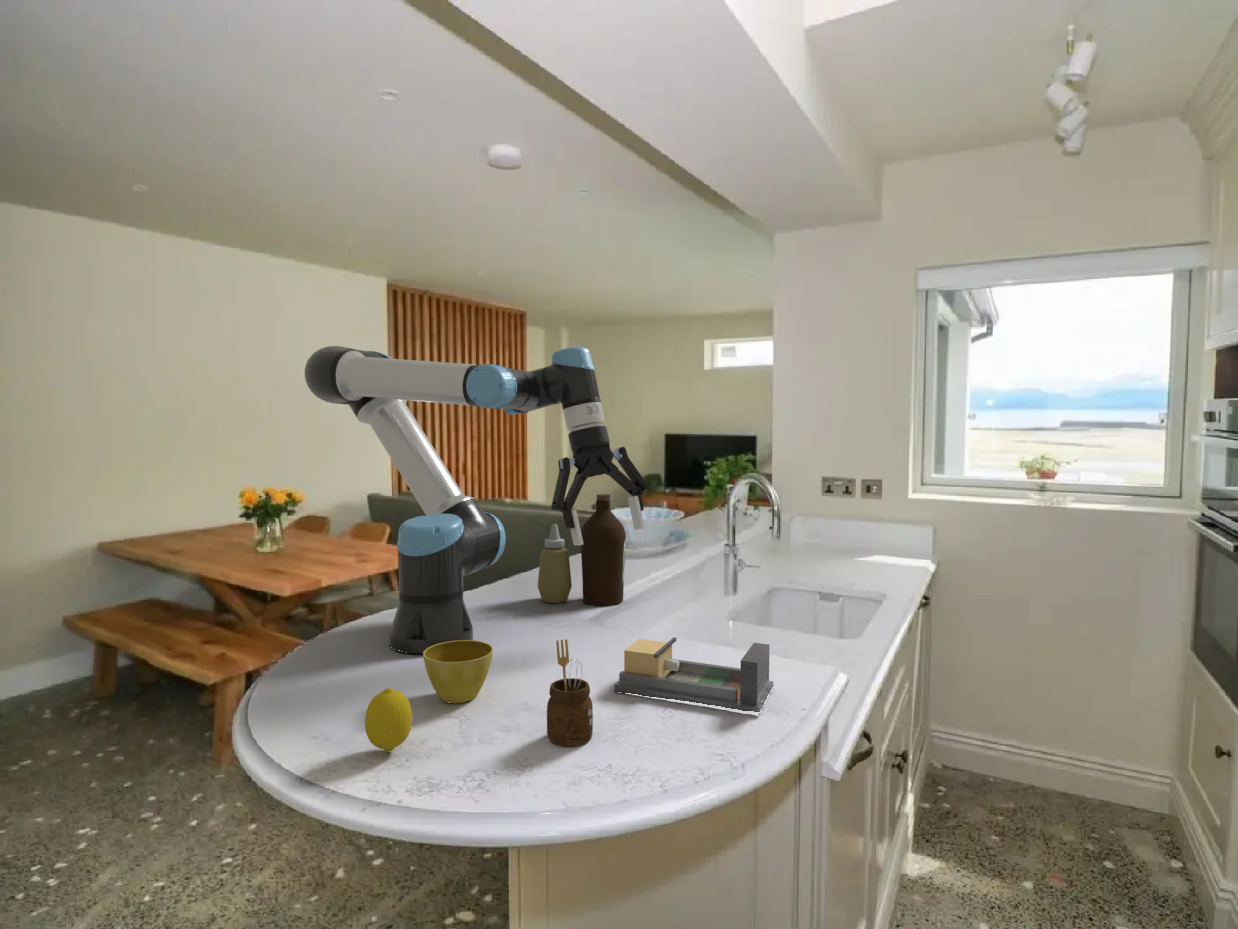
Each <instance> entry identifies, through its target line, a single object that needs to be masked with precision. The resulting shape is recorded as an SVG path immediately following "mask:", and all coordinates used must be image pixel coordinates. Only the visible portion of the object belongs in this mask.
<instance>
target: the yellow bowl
mask: <svg viewBox="0 0 1238 929" xmlns="http://www.w3.org/2000/svg"><path fill="white" fill-rule="evenodd" d="M493 652H494V647H493V646H492V645H491V644H490V643H488V642H485V641H480V640H474V639H473V640H457V641H449V642H443V643H439V644H435V645H433V646H431V647H429V648H427V649H426V650H425V651H424V652H423V654H422V656H423V663H424V667H425V670H426V673H427V676H428V680H429V681H430V683H431V685H432V687H433V690H434V691H435V693H436V694H437V697H439V699H440V700H441V699H442V700H443V701H445V702H450V703H462V704H464V703H463V702H467V701H470V700H472V699H473V700H475V699H476V698H477V696H478V694H479V693H480V691H481V689H482V688H483V685H484V684H485V682H486V679H487V677H488V674H489V670H490V667H491V664H492V659H493ZM442 700H441V701H442ZM473 700H472V701H473ZM443 701H442V702H443ZM445 702H444V703H445ZM470 702H471V701H470ZM467 703H468V702H467Z"/></svg>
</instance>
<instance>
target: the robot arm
mask: <svg viewBox="0 0 1238 929" xmlns="http://www.w3.org/2000/svg"><path fill="white" fill-rule="evenodd" d="M304 367H305V368H304V380H305V383H306V385H307V387H308V389H309V391H310V392H311V393H312V394H313V395H314V396H315V397H316V398H318V399H320V400H321V401H323V402H326V403H330V404H335V405H348V406H349V408H350V409H351V411H352V412H353V414H354V416H355V418H357V421H359V423H361V424H367V425H369V426H370V427H371V429H372V431H373V432H374V433H375V435H376V436H377V438H378V440H379V442H380V443H381V445H382V447H384V449H385V451H386V453H387V454H388V456H389V457H390V459H391V461H392V462H393V464H394V466H395V468H396V469H397V470H398V472H399V474H400V475H401V477H402V479H403V480H404V482H405V483H406V485H407V487H408V488H409V490H410V491H411V493H412V495H413V496H414V498H415V499H416V501H417V503H418V504H419V506H420V508H421V509H422V510H423V513H424V514H425V515H420V516H414V517H412V518H409V519H407V520H405V521H404V522H403V523H402V524H400V526H399V528H398V536H397V537H398V538H397V543H396V549H397V556H398V558H397V560H398V562H397V563H398V564H397V565H398V568H397V569H398V572H397V573H398V605H397V608H396V612H395V615H394V618H393V621H392V624H391V627H390V630H389V634H388V635H389V637H388V638H389V644H390V645H389V647H390V646H391V647H392V648H394V649H395V650H400V651H403V652H407V653H406V654H408V653H416V654H415V655H423V652H424V651H425V650H426V649H427V648H429V647H431V646H433V645H435V644H439V643H443V642H449V641H457V640H474V628H473V624H472V621H471V618H470V615H469V613H468V609H467V607H466V604H465V601H464V577H465V576H468V575H472V574H474V573H476V572H480V571H484V570H486V569H487V568H488V567H490V566H492V565H494V564H495V563H496V562H497V561H498V560H499V559H500V558H501V557H502V555H503V553H504V550H505V546H506V541H507V540H506V531H505V528H504V525H503V523H502V522H501V521H500V519H499V518H498V517H497V516H495V515H494V514H493V513H489V512H488V511H487V512H486V511H483V509H482V507H481V506H480V504H479V502H478V501H477V500H476V499H475V497H474V496H473V497H472V496H469V495H464V493H463V492H462V490H461V488H460V487H459V486H458V485H459V484H457V482H456V481H455V479H454V477H453V475H452V474H451V472H450V471H449V470H448V468H447V467H446V464H444V462H443V460H442V458H441V457H440V455H439V454H438V452H437V451H436V449H435V448H434V446H433V445H432V443H431V441H430V440H429V438H428V436H427V435H426V434H425V432H424V430H423V429H422V427H421V425H420V424H419V423H418V421H417V420H416V418H415V416H414V415H413V412H412V411H411V410H410V408H409V407H408V405H407V402H408V401H414V402H424V403H436V404H446V405H447V404H449V405H461V406H470V407H479V408H485V409H493V410H494V409H497V410H498V409H500V410H501V409H502V410H503V411H504V412H505V413H506V414H507V415H510V416H514V415H519V414H528V413H530V412H532V411H536V410H540V409H542V408H547V407H550V406H553V405H559V404H561V407H562V412H563V416H564V421H565V426H566V430H567V431H570V432H569V434H568V436H567V437H568V439H569V444H570V449H571V452H572V457H568V456H567V457H562V458H560V459H559V460H558V462H557V464H558V470H559V471H558V475H557V480H556V484H555V489H554V492H553V498H552V500H551V501H552V503H551V506H550V507H551V510H552V511H559V512H561V513H562V516H563V521H564V525H565V529H567V530H570V534H571V539H572V544H573V546H581V545H583V544H584V543H583V539H582V534H581V530H582V528H581V525H580V520H579V517H578V516H579V515H578V513H577V512H578V511H577V509H574V510H573V507H574V505H575V502H576V501H577V498H578V497H579V494H580V493H581V490H582V488H583V486H584V483H586V482H585V481H587V480H588V478H592V477H597V476H603V475H607V476H609V477H610V478H611V479H613V481H615V482H616V484H618V485H619V486H620V487H621V488H623V489H624V490H625V491H626V492H627V493H628V494H630V496H628V497H627V501H628V507H629V511H630V514H631V520H632V524H633V528H634V530H644V529H645V523H644V518H643V514H642V512H643V511H644V508H645V507H644V503H643V498H642V495H644V492H645V491H646V490H648V489H649V484H648V483H647V482H646V481H645V479H644V477H643V476H642V475H641V473H640V472H639V471H638V469H637V468H636V466H635V464H634V463H633V462H632V461H631V459H630V457H629V455H628V451H627V449H626V447H625V446H620V447H617V448H615V449H614V450H612V448H611V446H610V437H609V433H608V427H607V426H605V425H604V423H605V422H606V419H605V416H604V415H605V414H604V410H603V405H602V401H601V397H600V391H599V387H598V381H597V375H596V368H595V367H594V363H593V360H592V356H591V352H590V351H589V349H588V348H586V347H584V346H571V347H565V348H562V349H559V350H558V351H555V352H554V353H552V355H551V364H550V365H549V366H545V367H541V368H538V369H533V370H530V371H529V370H528V371H527V370H522V369H518V368H510V367H505V366H503V365H500V364H496V363H495V364H494V363H491V364H490V363H488V364H487V363H486V364H474V363H473V364H472V363H462V362H461V363H460V362H459V363H458V362H457V363H456V362H445V361H431V360H428V361H427V360H415V359H413V360H412V359H400V358H393V357H392V356H389V355H388V354H384V353H382V352H378V351H374V350H367V351H366V350H362V349H356V348H350V347H346V346H339V345H331V346H330V345H328V346H325V347H321V348H320V349H317V350H316V351H315V352H313V353H312V354H311V355H310V357H308V359H307V361H306V363H305V366H304ZM613 459H615V460H617V462H618V464H619V465H620V467H621V468H622V470H623V471H624V472H625V473H624V472H622V471H620V470H619V467H618V466H617V465H616V464H615V463H614V462H613ZM573 466H574V467H575V468H576V469H577V470H576V473H575V475H574V476H573V478H574V479H573V481H572V483H571V485H570V488H568V484H569V479H570V474H571V470H572V468H573ZM567 489H568V491H567ZM391 647H390V648H391ZM392 648H391V649H392ZM395 650H394V651H395ZM417 653H419V654H417ZM421 653H422V654H421Z"/></svg>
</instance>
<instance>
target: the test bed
mask: <svg viewBox="0 0 1238 929" xmlns="http://www.w3.org/2000/svg"><path fill="white" fill-rule="evenodd" d="M770 646H771V645H770V644H769V643H760V642H753V643H752V645H751V646H750V647H749V649H748V650H747V651H746V653H745V654H744V655H743V657H742V658H741V659H740V668H739V667H732V666H727V665H718V664H712V663H703V662H697V661H689V660H684V659H676V658H672V660H678V661H679V669H678V671H671V672H670V673H669V674H668V675H667V676H666V677H658V676H652V675H645V674H638V673H632V672H625V671H624V670H622V671H620V672H619V674H618V678H619V679H618V681H617V682H616V683H615V684H613V692H621V693H631V694H638V695H642V696H649V697H657V698H658V697H659V698H665V699H675V700H680V701H681V700H682V701H689V702H694V703H695V702H696V703H702V704H707V705H715V706H721V707H725V708H731V709H738V710H742V711H754V712H760V710H761V708H762V706H763V705H764V702H765V700H766V699H767V696H768V694H769V693H770V691H771V689H772V687H773V688H774V681H772V680H770Z"/></svg>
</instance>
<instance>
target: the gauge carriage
mask: <svg viewBox="0 0 1238 929" xmlns="http://www.w3.org/2000/svg"><path fill="white" fill-rule="evenodd" d="M675 642H677V637H672V638H671V639H670V640H668V641H667V642H666V641H659V640H658V641H657V640H652V639H643V638H639V639H637V640H635V642H632V644H630V645H629V646H628V647H626V649H624V651H623V652H624V654H623V655H624V656H623V659H624V660H623V661H624V665H623V666H624V668H623V671H625V672H632V673H638V674H645V675H652V676H658V677H666V676H667V675H668V674H669V673H670V672H671V671H678V669H679V661H678V660H679V659H677V660H672V659H673V644H675Z"/></svg>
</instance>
